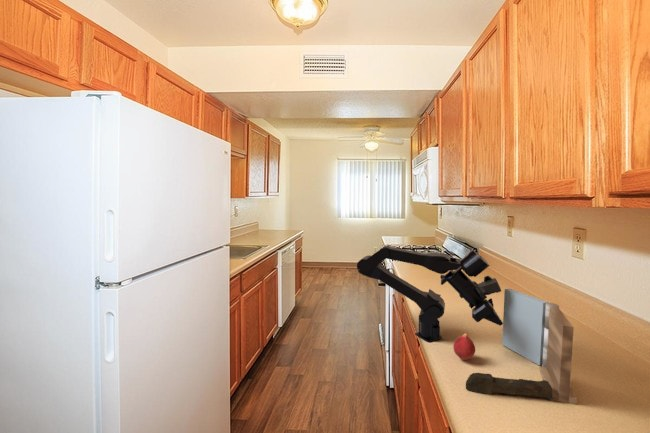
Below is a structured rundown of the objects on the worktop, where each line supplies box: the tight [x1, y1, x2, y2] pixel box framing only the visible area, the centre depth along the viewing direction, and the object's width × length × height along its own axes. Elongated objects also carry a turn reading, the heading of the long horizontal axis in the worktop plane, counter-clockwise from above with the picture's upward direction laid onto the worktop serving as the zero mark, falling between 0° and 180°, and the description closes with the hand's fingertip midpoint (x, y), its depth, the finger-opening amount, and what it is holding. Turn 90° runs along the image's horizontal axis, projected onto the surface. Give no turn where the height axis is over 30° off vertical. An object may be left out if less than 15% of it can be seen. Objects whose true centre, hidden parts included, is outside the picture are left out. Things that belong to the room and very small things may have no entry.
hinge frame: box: [539, 302, 578, 406], centre depth 84 cm, size 5×16×18 cm, turn 157°
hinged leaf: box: [501, 288, 550, 366], centre depth 97 cm, size 3×16×18 cm, turn 17°
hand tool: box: [465, 372, 552, 402], centre depth 81 cm, size 19×4×5 cm, turn 78°
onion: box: [453, 333, 476, 361], centre depth 96 cm, size 6×6×8 cm
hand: (501, 324), depth 103 cm, fingers closed
